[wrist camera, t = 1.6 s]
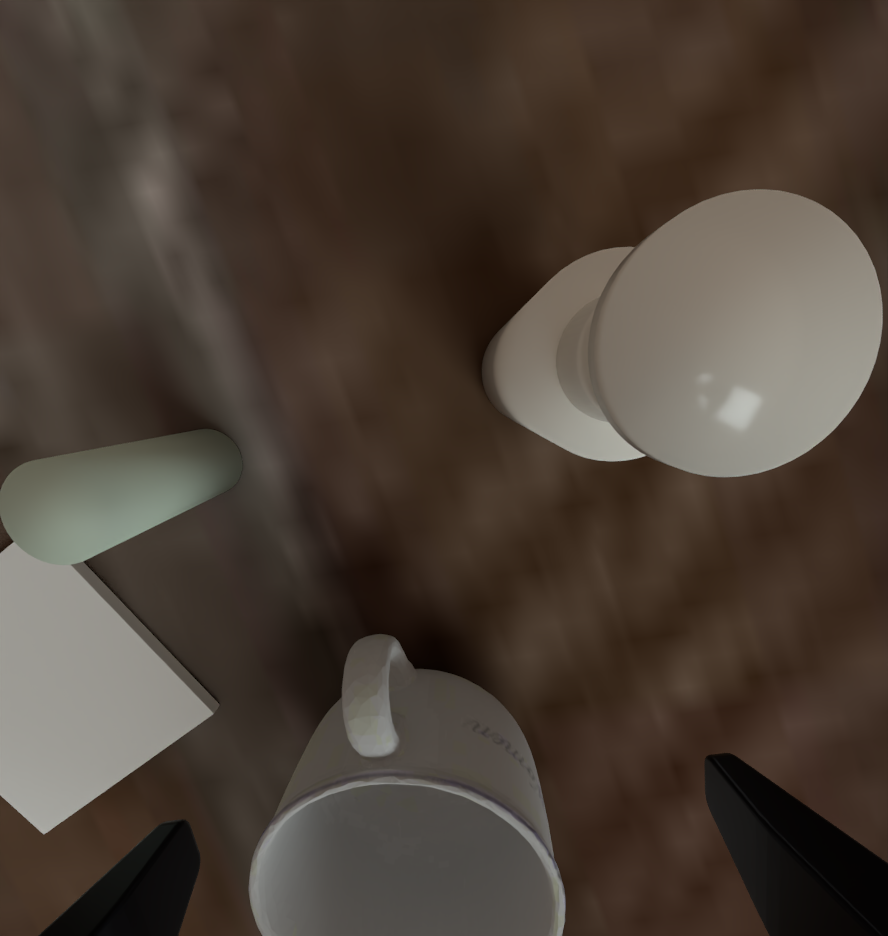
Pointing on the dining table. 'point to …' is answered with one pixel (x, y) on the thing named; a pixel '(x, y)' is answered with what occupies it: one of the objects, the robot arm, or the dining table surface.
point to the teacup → (409, 815)
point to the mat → (80, 689)
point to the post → (113, 492)
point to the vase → (698, 340)
